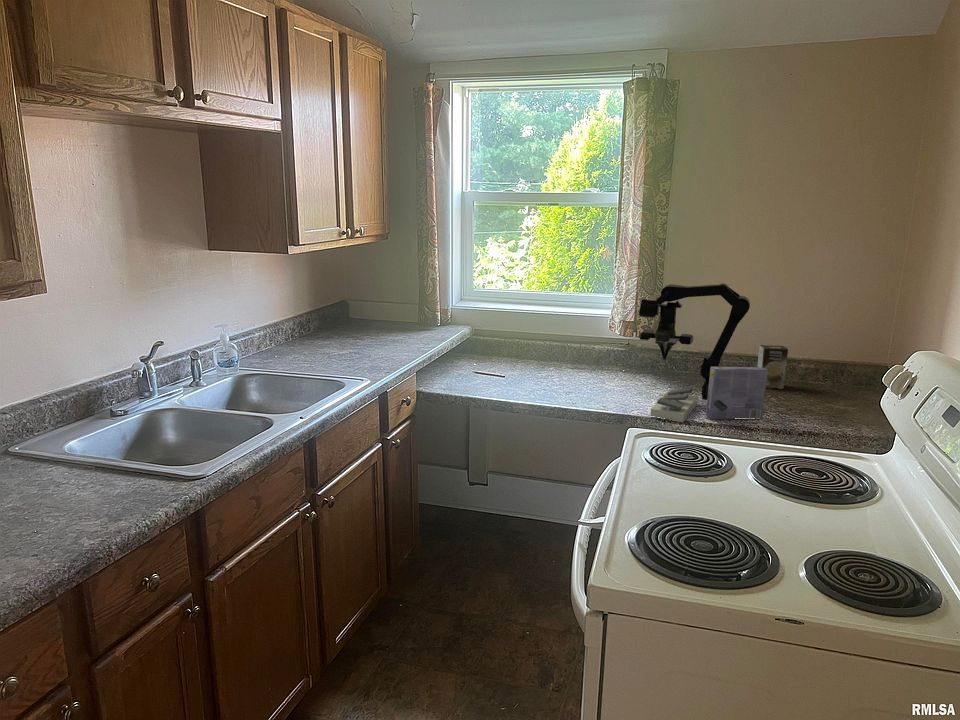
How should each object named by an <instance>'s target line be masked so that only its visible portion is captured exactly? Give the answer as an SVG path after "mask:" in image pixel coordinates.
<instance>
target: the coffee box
mask: <svg viewBox="0 0 960 720" xmlns="http://www.w3.org/2000/svg"><path fill="white" fill-rule="evenodd" d="M788 355H789V349H788V347H786V346H783V345H769V344H759V350H758V358H757V367H762V368H765V369H767V370H768V374H767V382H766V389H773V388H778V389H779V390H783V389H784V385H785V377H786V368H787V361H788Z"/></svg>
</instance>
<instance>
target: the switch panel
mask: <svg viewBox="0 0 960 720" xmlns="http://www.w3.org/2000/svg"><path fill="white" fill-rule="evenodd" d="M668 392H669V391H666V392H665V393H664V395H662V397H661V398H663V397H664V396H665V395H668V394H667V393H668ZM677 395H682V394H677ZM672 401H674V402H677V403H681V404H684V405H683V408H682V409H681V410H678V409H674V408H671V407H670V406H664V405H661V404H658V403H657V402H656V403H655V404H654V405H653V406H652V407H651V408H650V416H655V417H660V418H665V419H669V420H668V421H671V420H672V421H673V422H679V423H684V422H685V421H684V420H686V419H687V418H688V417H689V416H690V414H691V413H692V411H693V410H694V409H695V407H696V406H697V405H698V395H692V394H688V398H687V399H686V400H672ZM693 408H694V409H693ZM690 412H691V413H690ZM650 416H649V417H650ZM687 416H688V417H687ZM686 417H687V418H686Z"/></svg>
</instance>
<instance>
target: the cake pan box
mask: <svg viewBox="0 0 960 720" xmlns="http://www.w3.org/2000/svg"><path fill="white" fill-rule="evenodd" d="M767 374H768V370H767V369H765V368H762V367H755V366H754V367H751V366H747V367H745V366H719V367H711V368H710V378H709V387H708V398H707V399H706V409H705V410H706V411H705V416H706V417H707V418H708V419H709V418H710V419H709V420H711V419H714V420H728V419H735V418H760V419H762V420H763V417H764V416H763V414H764V408H765V407H764V404H765V398H766V389H767V388H766V382H767Z"/></svg>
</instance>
